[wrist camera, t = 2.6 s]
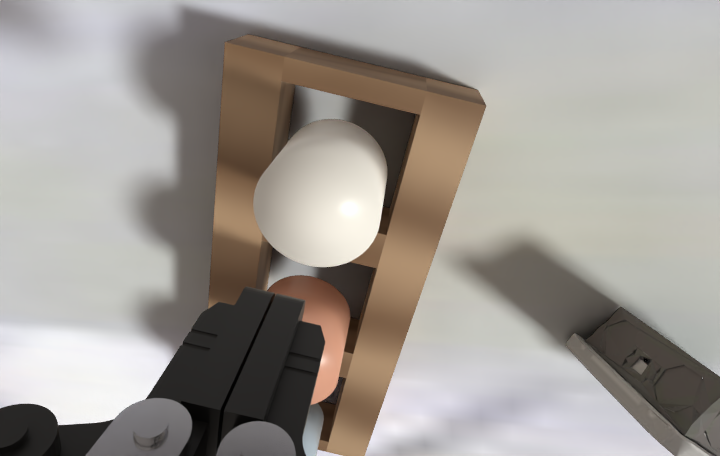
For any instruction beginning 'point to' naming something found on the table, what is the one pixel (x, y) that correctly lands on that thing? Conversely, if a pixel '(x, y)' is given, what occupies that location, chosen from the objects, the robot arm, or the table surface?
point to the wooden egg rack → (398, 223)
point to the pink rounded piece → (329, 313)
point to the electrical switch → (655, 383)
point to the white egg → (323, 194)
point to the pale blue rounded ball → (313, 430)
